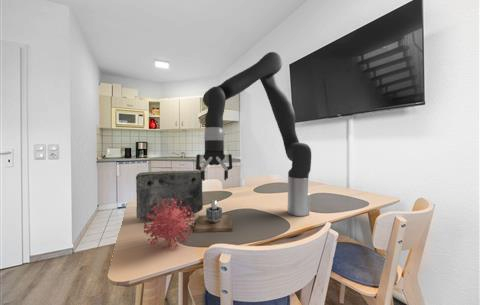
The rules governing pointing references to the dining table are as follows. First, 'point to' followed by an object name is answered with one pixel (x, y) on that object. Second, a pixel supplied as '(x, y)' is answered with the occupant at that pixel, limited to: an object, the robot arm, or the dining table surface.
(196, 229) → the board
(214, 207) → the post
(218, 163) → the robot arm
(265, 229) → the dining table surface
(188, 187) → the concrete block
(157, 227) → the virus model
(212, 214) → the ring
